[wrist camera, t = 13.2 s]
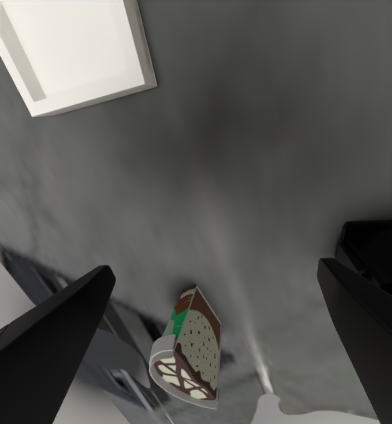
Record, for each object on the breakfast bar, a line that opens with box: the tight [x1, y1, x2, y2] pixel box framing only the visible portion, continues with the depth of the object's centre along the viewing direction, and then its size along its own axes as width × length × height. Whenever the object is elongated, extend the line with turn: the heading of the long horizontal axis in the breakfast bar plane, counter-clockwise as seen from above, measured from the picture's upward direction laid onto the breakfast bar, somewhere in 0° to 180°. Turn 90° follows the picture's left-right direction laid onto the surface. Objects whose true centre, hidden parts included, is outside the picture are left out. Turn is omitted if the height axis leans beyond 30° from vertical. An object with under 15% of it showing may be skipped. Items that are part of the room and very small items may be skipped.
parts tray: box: [0, 0, 158, 117], centre depth 14 cm, size 12×12×2 cm
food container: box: [149, 285, 222, 409], centre depth 26 cm, size 12×6×10 cm, turn 28°
